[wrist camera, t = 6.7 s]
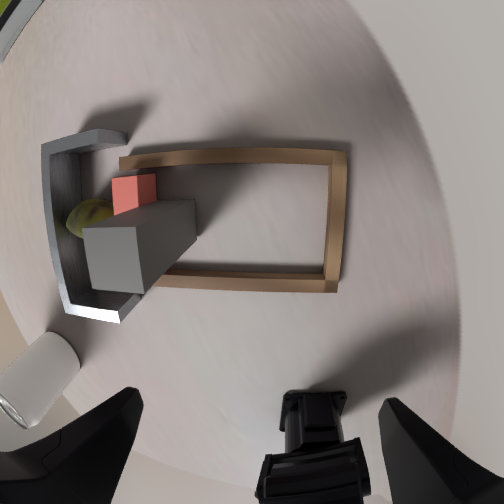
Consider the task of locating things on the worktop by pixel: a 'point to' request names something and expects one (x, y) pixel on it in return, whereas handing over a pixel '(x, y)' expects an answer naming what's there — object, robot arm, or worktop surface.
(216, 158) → the brown wooden flat frame
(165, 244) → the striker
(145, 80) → the worktop surface
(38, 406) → the can
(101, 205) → the lime
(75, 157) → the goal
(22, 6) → the tea box
